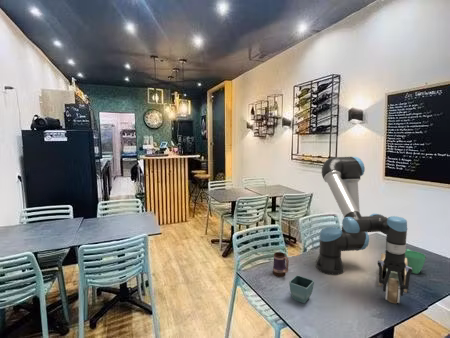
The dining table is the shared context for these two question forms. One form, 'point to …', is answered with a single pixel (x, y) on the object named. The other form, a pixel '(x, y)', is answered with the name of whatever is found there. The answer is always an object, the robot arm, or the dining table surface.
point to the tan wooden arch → (401, 271)
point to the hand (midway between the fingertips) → (392, 299)
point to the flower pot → (301, 288)
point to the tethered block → (393, 287)
